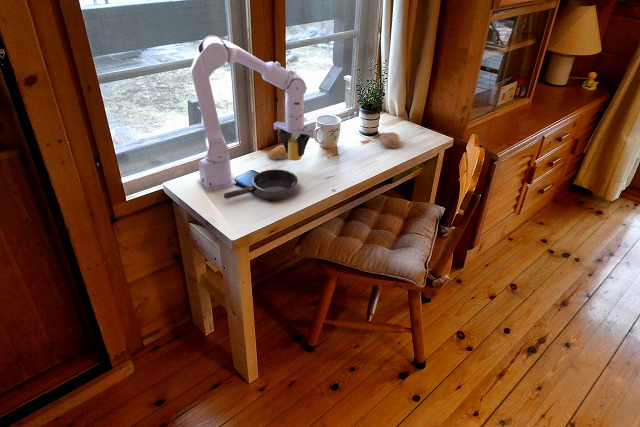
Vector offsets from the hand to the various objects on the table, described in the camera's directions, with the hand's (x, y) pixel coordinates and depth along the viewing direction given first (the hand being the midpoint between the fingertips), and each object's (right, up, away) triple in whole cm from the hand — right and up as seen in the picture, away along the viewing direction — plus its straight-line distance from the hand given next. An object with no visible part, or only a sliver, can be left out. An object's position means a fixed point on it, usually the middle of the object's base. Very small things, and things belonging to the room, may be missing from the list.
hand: (294, 153), depth 154 cm
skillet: (-6, -12, -6) cm, 15 cm away
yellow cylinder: (0, -1, +1) cm, 2 cm away
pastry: (-5, +1, +14) cm, 15 cm away
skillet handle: (-16, -14, -12) cm, 24 cm away
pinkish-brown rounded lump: (+35, +6, +24) cm, 43 cm away
